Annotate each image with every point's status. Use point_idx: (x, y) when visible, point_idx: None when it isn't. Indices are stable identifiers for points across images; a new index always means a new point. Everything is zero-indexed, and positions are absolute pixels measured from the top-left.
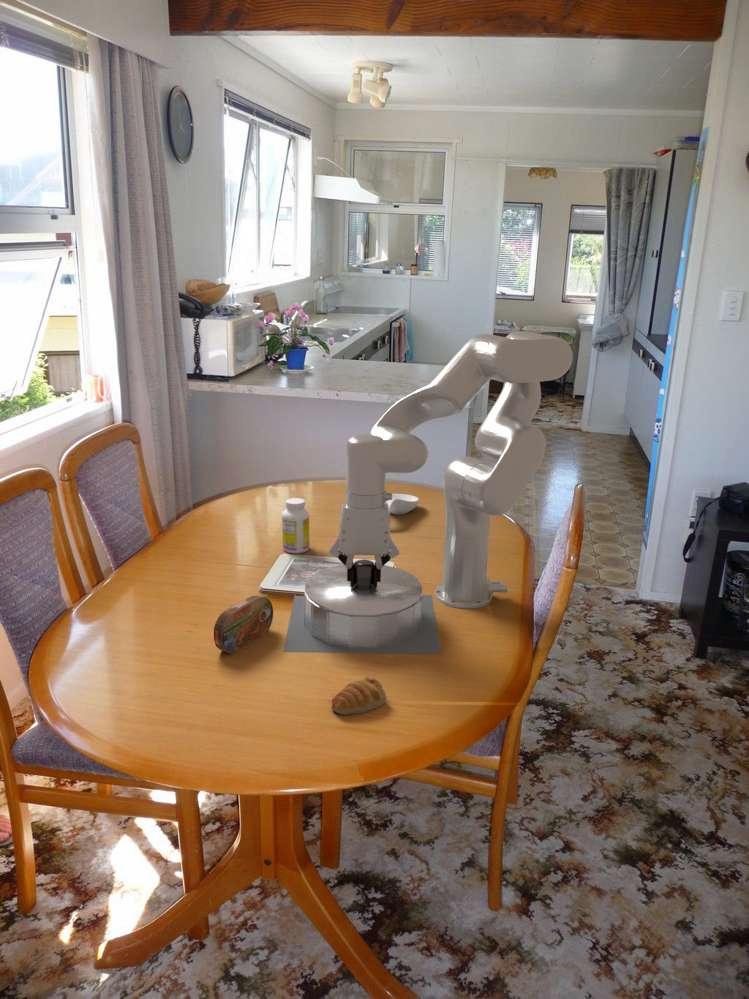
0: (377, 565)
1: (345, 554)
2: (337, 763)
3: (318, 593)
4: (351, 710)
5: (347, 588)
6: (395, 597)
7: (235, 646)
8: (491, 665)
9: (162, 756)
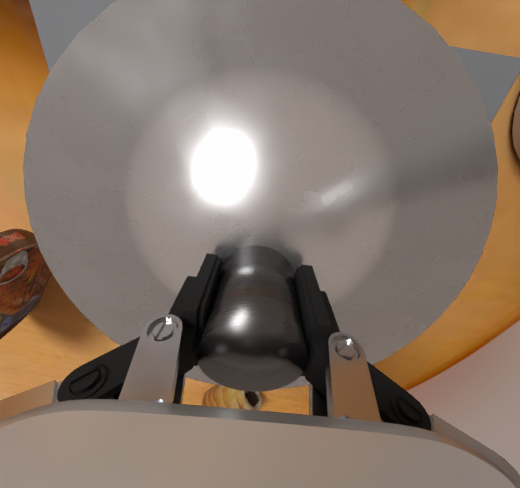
0: (316, 389)
1: (114, 387)
2: None
3: (109, 306)
4: None
5: None
6: None
7: (26, 303)
8: (425, 354)
9: None
